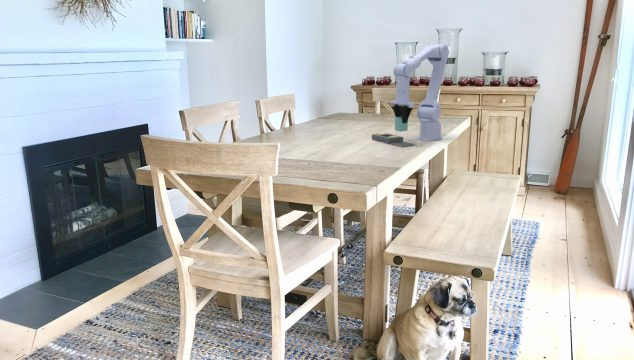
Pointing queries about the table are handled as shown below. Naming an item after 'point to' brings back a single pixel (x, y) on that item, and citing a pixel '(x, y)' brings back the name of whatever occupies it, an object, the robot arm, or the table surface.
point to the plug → (400, 124)
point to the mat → (402, 144)
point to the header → (387, 138)
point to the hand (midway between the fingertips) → (401, 122)
